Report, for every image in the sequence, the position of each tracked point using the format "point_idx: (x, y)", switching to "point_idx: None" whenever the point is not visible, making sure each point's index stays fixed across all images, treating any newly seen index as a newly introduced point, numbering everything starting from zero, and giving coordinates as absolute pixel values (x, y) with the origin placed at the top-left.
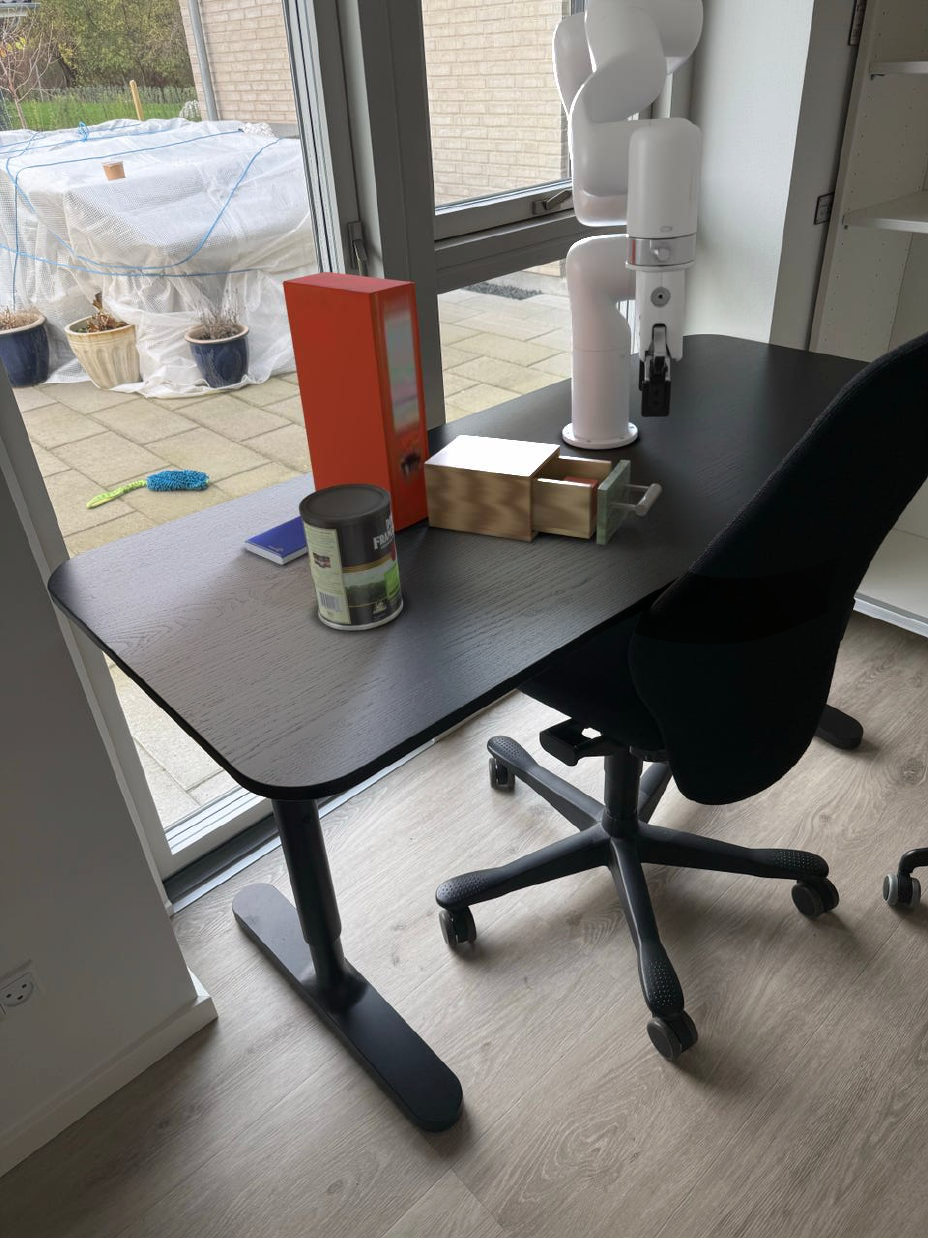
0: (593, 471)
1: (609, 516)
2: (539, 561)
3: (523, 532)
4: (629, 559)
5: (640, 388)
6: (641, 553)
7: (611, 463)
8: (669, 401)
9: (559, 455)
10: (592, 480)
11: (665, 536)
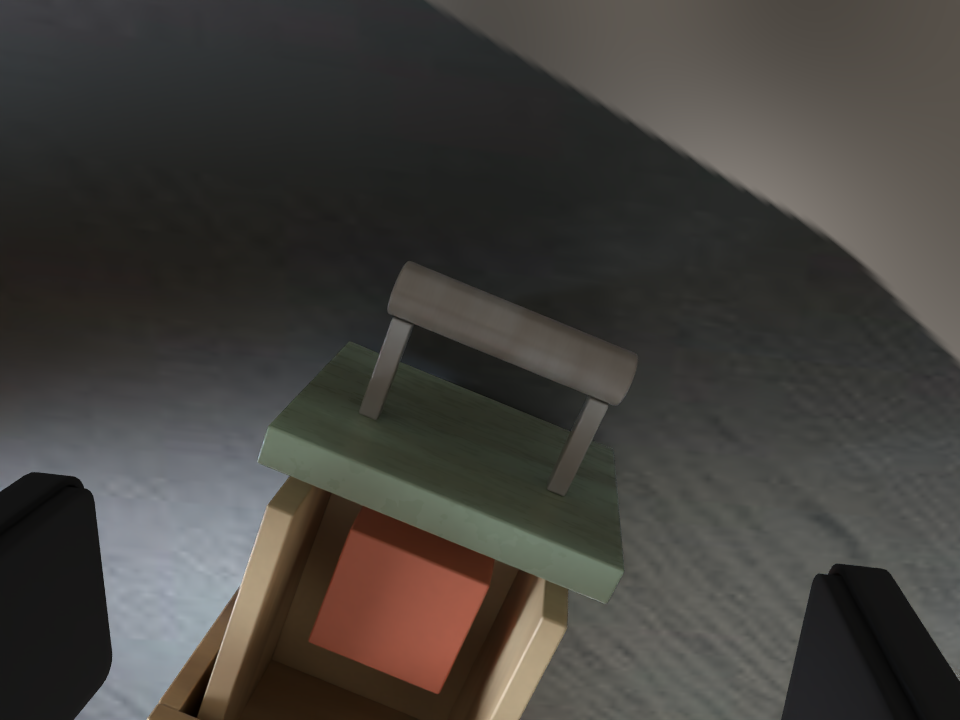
0: (289, 553)
1: (577, 477)
2: (663, 636)
3: None
4: (685, 365)
5: (100, 677)
6: (643, 319)
7: (275, 501)
8: (938, 661)
9: (178, 688)
10: (355, 554)
11: (509, 214)
